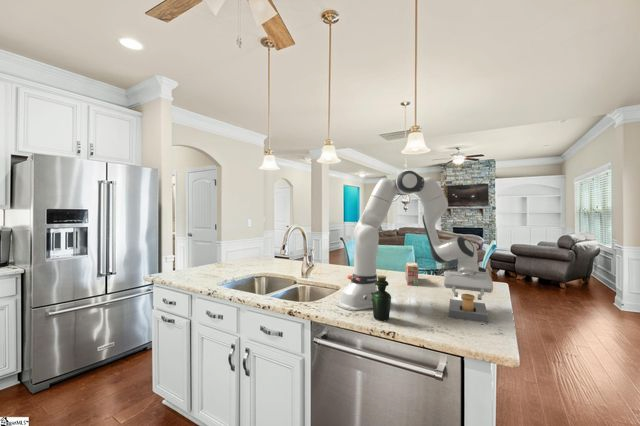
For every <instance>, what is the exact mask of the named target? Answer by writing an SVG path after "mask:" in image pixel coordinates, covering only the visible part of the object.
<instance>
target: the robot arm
mask: <svg viewBox="0 0 640 426" xmlns="http://www.w3.org/2000/svg"><path fill="white" fill-rule="evenodd" d="M411 194H415V195H417V197H418V199H420V202H421V204H422V207H423V211H424V212H423V213H424V214H423V215H422V223H423V228H424V230H425V234H426V236H427V237H426V238H427V240H428V241H427V242H428V245H429V247H430V253H431V254H430V255H431V257H432V260H434V261H435V262H436V263H439V264H445V263H448V262H450V261H453V260H457V261H458V263H457V270H454V269H453V270H452V269H447V270H445V271H444V272H443V276H444V279H443V286H444V288H446V289H451V292H452V293H453V294H454V295H453V296H454V298H458V297H459V292H458V291H456V290H462V291H471V292H480V294H477V300H481V301H482V300H483V299H482V297H483V296H484V295H485V293H489V294H490V293H493V291H494V284H493V283H494V282H493V279H492V276H490V270H489V269H488V268H486V267H482V266H479V265H478V262H479V261H478V259H479V256H478V251H477V250H478V249H477V247H476V245H475V243H474V242H472V241H470V240H469V239H467V238H465V237H463V236H457V237H454V238H450V239H448V240H444V241H440V239H439V236H438V232H437V229H436V223H437V222H438V220H439V219H440V218H441V217H443V216H444V214H446V212H447V211H448V207H449V202H448V199H447V197H446V195H445V193H444V191H443V189H442V188H441V186H440V185H439V183H438V182H437V181H436V180H435V179H434V177H423V176H421V175H420V174H419V173H417V172H416V171H413V170H404V171H402V172H401V173H400V174H398V175H397V177H396V178H394V179H392V178H391V179H390V178H387V177H385V178H384V177H383V178H381V179H379V180H378V181H377V183H376V185H375V186H374V188H373V189H372V192H371V194H370V195H369V199H368V200H367V202H366V205H365V208H364V210H363V212H362V214H361V215H360V217H359V219H358V221H357V222H356V223H357V224H356V225H355V227H354V229H353V231H352V236H353V239H354V242H355V245H354V246H355V247H354V248H355V249H354V256H353V274H352V275H350V274H348V275H347V277H346V278H347V280H350V282H349V283H348V284H347V285H346V286H345V288H343V289H342V290H341V291H340V296H339V299H338V300H336V301H334V304H335V305H336V306H337V307H340V308H341V309H344V310H349V311H362V310H367V309H373V303H372V295H373V293H374V292H376V291H378V287H377V285H375V282H376V281H378V277H377V276H378V275H377V256H378V249H379V241H380V234H379V231H378V230H379V228H380V227H381V225H382V223H383V222H384V220H385V219H386V217H387V215H388V213H389V210H390V207H391V206H392V204H393V202H394V198H395V197H396V195H398V196H409V195H411Z"/></svg>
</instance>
